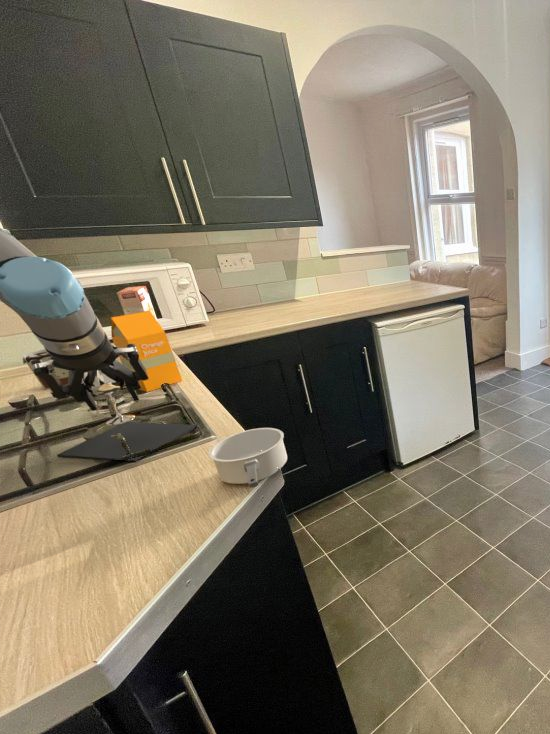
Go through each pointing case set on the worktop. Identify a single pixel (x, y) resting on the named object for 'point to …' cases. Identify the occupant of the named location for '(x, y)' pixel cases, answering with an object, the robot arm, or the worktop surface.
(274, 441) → the saucepan
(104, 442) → the mat
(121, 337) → the orange juice
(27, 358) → the food container
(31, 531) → the worktop surface
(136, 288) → the cracker box
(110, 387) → the wineglass
